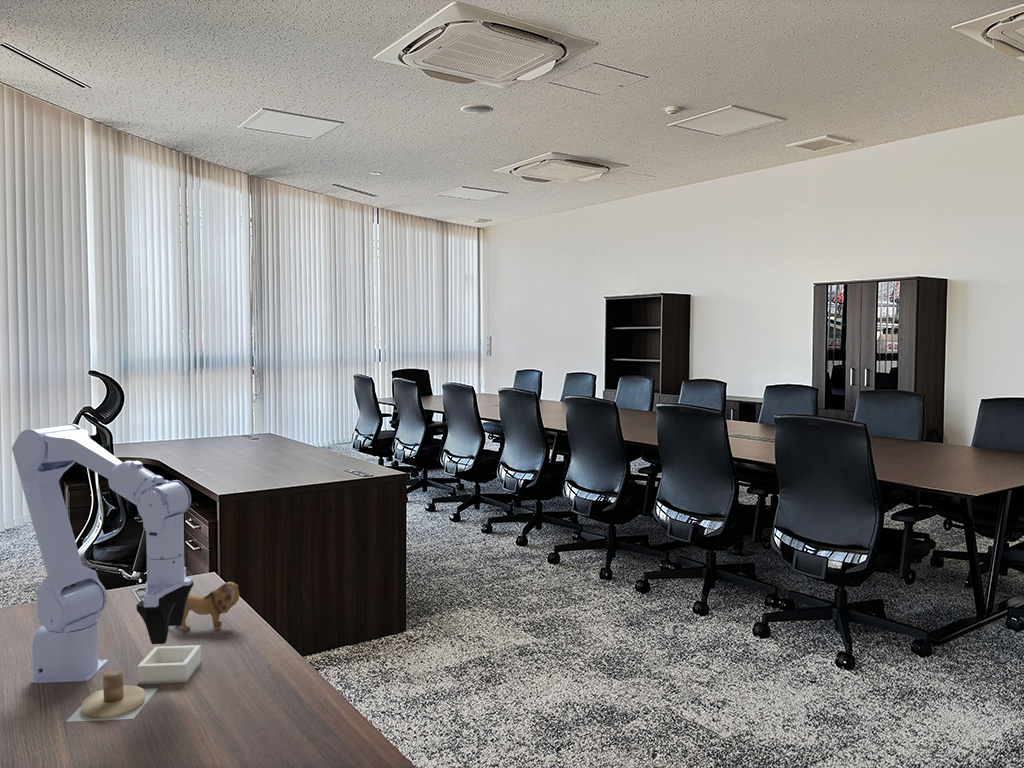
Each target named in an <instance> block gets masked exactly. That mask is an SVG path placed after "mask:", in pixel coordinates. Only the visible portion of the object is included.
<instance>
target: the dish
mask: <svg viewBox="0 0 1024 768" xmlns="http://www.w3.org/2000/svg"><path fill="white" fill-rule="evenodd" d="M201 663H202V645H201V644H198V645H196V644H195V645H191V644H190V645H166V646H165V645H164V646H162V645H161V646H154V648H152V650H150V652H149V653H148V654H147V655H146V656H145V657H144V659H142V660H141V662H140V663H139V664H138V665H137V685H148V684H149V685H150V684H153V685H154V684H155V685H156V684H178V683H179V684H181V683H187V682H188V681H189V680H190V678H191V677H192V676H193V674H194V673H195V671H196V670H197V669H198V667H199V666H200V664H201Z"/></svg>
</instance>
